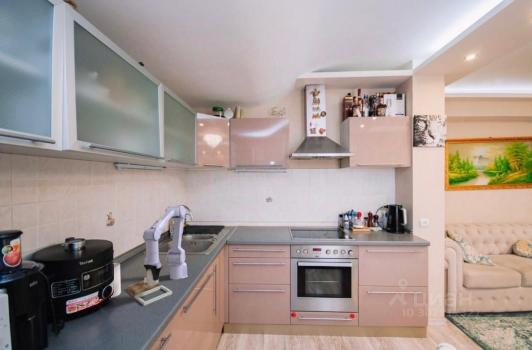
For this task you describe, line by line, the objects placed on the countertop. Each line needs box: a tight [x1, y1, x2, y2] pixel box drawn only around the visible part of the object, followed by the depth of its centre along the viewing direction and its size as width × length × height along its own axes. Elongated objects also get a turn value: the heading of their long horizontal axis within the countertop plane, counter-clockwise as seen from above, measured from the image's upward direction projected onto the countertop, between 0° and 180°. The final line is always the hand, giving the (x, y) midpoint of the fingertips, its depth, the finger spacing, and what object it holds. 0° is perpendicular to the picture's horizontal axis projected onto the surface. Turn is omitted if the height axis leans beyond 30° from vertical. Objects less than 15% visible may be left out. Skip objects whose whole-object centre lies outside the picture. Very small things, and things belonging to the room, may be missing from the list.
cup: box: [110, 262, 122, 299], centre depth 125 cm, size 8×8×16 cm
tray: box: [134, 285, 173, 308], centre depth 122 cm, size 14×11×2 cm
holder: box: [123, 279, 160, 299], centre depth 130 cm, size 14×14×3 cm
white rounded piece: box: [143, 269, 160, 286], centre depth 121 cm, size 7×5×7 cm
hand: (153, 278), depth 121 cm, fingers closed on white rounded piece, 5 cm apart
